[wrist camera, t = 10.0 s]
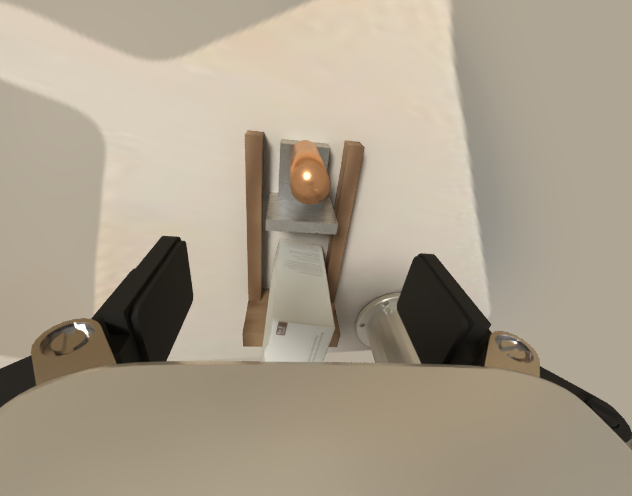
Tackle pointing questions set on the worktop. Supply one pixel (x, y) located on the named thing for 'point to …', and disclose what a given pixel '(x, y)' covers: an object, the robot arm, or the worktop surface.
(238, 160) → the worktop surface
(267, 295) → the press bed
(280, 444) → the robot arm
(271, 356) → the skincare box
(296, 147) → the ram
